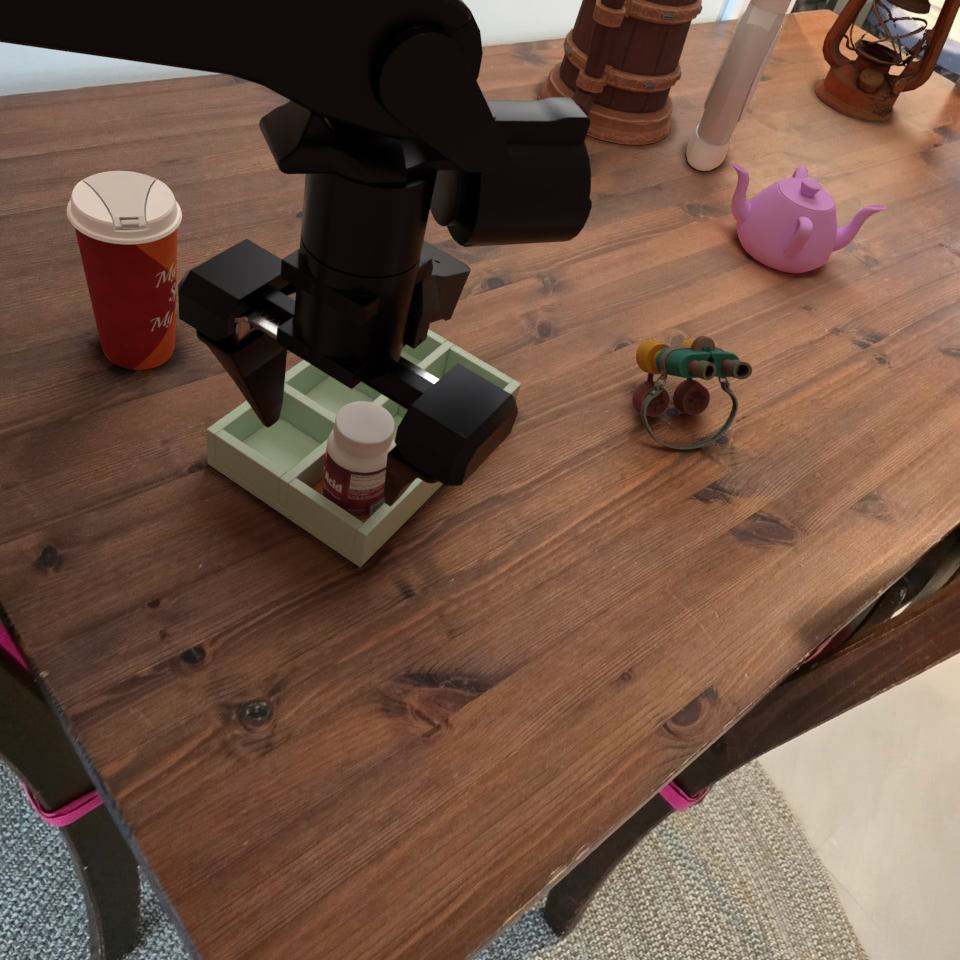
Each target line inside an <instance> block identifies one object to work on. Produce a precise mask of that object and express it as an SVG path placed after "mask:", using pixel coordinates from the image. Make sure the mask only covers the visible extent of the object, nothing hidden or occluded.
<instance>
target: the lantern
mask: <svg viewBox="0 0 960 960" xmlns="http://www.w3.org/2000/svg"><path fill="white" fill-rule="evenodd" d="M868 1H869V0H848V1H847V3H845V5H844V7H843V9H842V10H841V11H840V12H839V15H838V16H837V17H836V20H835V21H834V22H833V24H832V26H831V27H830V29H828V31H827V33H826V35H825V37H824V40H823V44H822V50H821V51H822V55H823V60H824V61H825V62H826V63H827V64H828V65H829V70H828V72H827V74H826V76H825V77H824V78H822V79H821V80H820V81H818V83H817V84H816V85H815V87H814V91H815V93H816V95H817V96H818V98H819V99H820V100H821V101H822V102H823V103H824V104H825V105H827V106H829V107H831V108H832V109H833V110H835V111H838V112H839V113H841V114H843V115H846V116H847V117H851V118H853V119H855V120H859V121H863V122H868V123H875V124H882V123H887V122H890V121H891V120H892V119H893V118H894V105H895V104H896V102H897V100H898V98H899V96H900V95H901V93H907V92H911V91H915V90H917V89H919V88H920V87H923V85H925V84H926V83H927V82H928V81H929V80H930V78H931V76H932V75H933V73H934V72H935V69H936V66H937V63H938V61H939V59H940V56H941V54H942V52H943V50H944V47H945V44H946V42H947V40H948V37H949V35H950V33H951V30H952V27H953V24H954V23H955V20H956V16H958V12H959V10H960V0H944V1H943V4H942V6H941V9H940V11H939V13H938V16H937V18H936V21H935V23H934V25H933V27H932V28H927V27H928V25H929V24H928V21H927V19H925V18H922V17H916V16H901V17H896V16H895V17H893V14H892V11H891V9H890V8H889V7H888V6H887V5H886V4H885V3H884V2H883V1H881V0H873V1H872V4H871V9H872V12H873V15H874V16H875V18H876V20H877V21H878V23H877V24H875V25H873V26H872V27H871V28H870V29H869V30H867V31H866V33H863V34H862V35H861V37H860V38H859V39H858V40H857V41H855V43H854V42H853V30H854V27H855V23H856V22H857V19H858V16H859V14H860V13H861V11H862V10H863V8H864V6H865V5H866V4H867V2H868ZM885 1H886V2H888V3H889V4H890V5H892V6H895V8H898V9H901V10H903V11H906V12H909V13H913V14H918V15H927V14H929V13H930V12H931V6H932V3H931V2H930V0H885ZM877 5H878V6H879V7H880V8H882V9H883V10H885V11H886V12H887V16H888V19H885V20H884V19H883V18H882V16H881V13H880V11H879V8H878V7H877ZM890 21H892V23H894V24H893V26H894V29H896V28H897V24H896V22H899V21H918V22H922V23H924V25H922V26H920V27H918V28H917V29H914V30H913V31H910V32H908V33H905V34H902V35H899V33H896V36H895V35H893V36H892V34H891V33H892V32H891V31H890V29H889V27H888V26H887V23H888V22H890ZM880 26H881V29H883V31H884V33H885V35H886V37H884V38H883V39H878V40H874V41H870V40H866V39H864V38H865V36H866V35H867V34H868V33H870V32H869V31H871V30H872V29H874V28H878V27H880ZM848 31H849V36H848V35H847V32H848ZM921 32H923V33H922V36H920V38H919V39H918V41H917V42H916V43H915V44H914V45H913V46H912V47H911V48H910V49H909V50H908V51H906V52H905V57H906V58H905V59H903V56H902V42H901V39H904V38H909V37H911V36H914V35H917V34H919V33H921ZM844 38H845V40H846V41H845V48H847V50H849V51H853V52H854V53H855V54H856V55H857V56H856V58H855V59H850V58H848V57H847V56H845V55H844V54H843V53H842V52H841V50H840V47H841V46H840V45H841V43H842V41H843V39H844ZM895 40H896V41H897V45H898V51H899V52H898V51H897V48H896V43H895ZM887 41H890V42H891V46H892V48H893V49H892V48H890V47H889V46H886V45H884V44H881V43H884V42H887ZM924 44H925V45H924ZM850 45H851V46H850ZM921 52H923V53H922V56H921V57H920V59H919V60H915V61H914V59H916V58H918V57H919V55H920V54H921ZM893 66H894V67H904V68H903V70H901V72H900V73H899V74H898V75H897V74H891V73H890V70H891V67H893Z"/></svg>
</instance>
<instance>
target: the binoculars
mask: <svg viewBox="0 0 960 960" xmlns="http://www.w3.org/2000/svg"><path fill="white" fill-rule="evenodd" d="M635 361H636V364H637V366H638V368H639V370H641V371H643V372H644V373H646V374H647V379H646V380H645V381H642V382H641V383H640V384H639V385H637V386H636V387H635V389H634V391H633V393H632V397H631V403H632V407H633V408H634V410H635V411H636V412H638V414H640V417H641V418H640V419H641V422H642V424H643V426H644V428H645V430H646V432H647V433H648V435H649V436H650V438H652V440H654V442H657V443H659V444H661V445H663V446H665V447H668V448H671V449H677V450H693V449H699V448H702V447H705V446H708V445H710V444H712V443H714V442H716V441H717V440H719V439H720V438H721V437H722V436H723V435H724V434H725V433H726V432H727V431H728V430H729V428H730V426H731V425H732V423H733V422H734V420H735V419H736V415H737V413H738V410H739V401H738V398H737V396H736V395H735V394H734V393H733V390H732V389H731V388H730V387H731V382H730V381H729V380H728V378H734V379H737V380H746V379H748V378H749V377H751V375H752V374H753V366H752V365H751V364H750V363H748V362H747V361H743V360H741V359H740V358H739V356H738V355H737V354H736V353H734V352H730V351H727V350H724V349H722V348H721V347H716V343H715V341H714V340H713V338H711V337H709V336H706V335H700V336H697V337H696V338H689V339H686V340H684V341H682V343H681V344H680V345H679V346H671V347H670V346H669V345H668V344H665V343H662V342H661V341H658V340H655V339H646V340H644V341H642V342H641V343H640V344H639V345H638V347H637V349H636V353H635ZM654 375H659V376H658V377H657V379H656V380H654ZM668 376H673V377H677V378H681V379H683V378H684V379H685V380H683V381H681V382H680V383H678V385H677V386H676V387H675V389H674V391H673V394H672V403H673V405H674V408H675V409H676V411H679V412H682V413H683V414H684V413H685V414H687V415H691V416H698V415H700V414H702V413H703V412H704V411H706V409H707V408H708V407H709V404H710V400H711V396H710V391H709V390H708V389H707V387H705V386H704V385H703V384H702V383H701V382H699V381H698V380H697V379H701V380H704V381H711V380H712V379H713V378H714V377H715V378H717V379H718V382H719V384H720V388H721V390H722V391H723V392H725V393H726V394H727V395H728V396H729V397H730V400H731V402H732V407H731V410H730V411H729V412H730V413H729V415H728V417H727V419H726V420H725V422H724V424H723V425H722V426H721V428H720V429H719V430H718V431H716V433H715V434H714V435H712V436H711V437H709V438H707V439H705V440H703V441H700V442H697V443H693V444H688V445H676V444H670V443H666V442H663V441H661V440H660V439H658V437H657V436H656V435H655V434H654V433H653V430H652V429H651V427H650V425H649V422H648V418H647V416H648V417H651V418H656V417H659V416H661V415H663V414H664V413H665V412H666V411H667V409H668V408H669V405H670V399H671V398H670V394H669V392H668V391H667V389H666V388H664V387H665V386H666V384H667V380H668ZM721 379H722V380H721ZM660 380H661V381H663V383H659V381H660Z"/></svg>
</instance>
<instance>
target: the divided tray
mask: <svg viewBox="0 0 960 960" xmlns="http://www.w3.org/2000/svg"><path fill="white" fill-rule="evenodd" d="M401 356H402V357H403V358H405V359H407V360H408V361H410V362H412V363H413V364H415V365H417V366H418V367H420V368H422V369H423V370H425V371H427V372H428V373H430V374H432V375H433V376H435V377H437V378H439V379H440V378H441V377H443V376H444V375H445V374H446V373H447V372H448V371H449V370H450V369H452V368H453V367H454V366H455V365H456V364H457V363H459V364H461V365H462V366H464V367H466V368H468V369H469V370H471V371H473V372H474V373H476V374H478V375H479V376H481V377H483V378H485V379H486V380H488V381H490V382H491V383H493V384H495V385H496V386H498V387H500V388H502V389H503V390H505V391H507V392H508V393H510V394H512V395H513V396H514V397H515V398H516V400H517V398H518V395H519V393H520V389H521V385H522V383H521V382H520V381H517V380H516V379H514V378H512V377H511V376H509V375H507V374H505V373H504V372H503V371H501V370H499V369H497V368H495V367H494V366H492V365H490V364H488V363H487V362H485V361H483V360H481V358H479V357H477V356H475V355H474V354H472V353H470V352H468V351H466V350H465V349H463V348H462V347H460V346H459V345H457V344H454V343H452V341H450V340H447V339H446V338H444V337H443V336H442V335H439V334H438V333H436V332H435V331H433V330H431V329H430V328H429V329H428V334H427V338H426V340H425V341H423V342H422V343H421V344H420V345H418V346H417V347H416V348H415V349H413V348H411V347H409V346H408V345H406V346H405V347H403V348H402V351H401ZM358 401H366V402H371V403H375V404H378V405H380V406H382V407H383V408H385V409H386V410H387V411H388V412H389V413H390V414H391V415H392V417H393V419H394V423H395V429H394V436H393V439H394V441H395V437H396V433H397V428H398V426H399V424H400V422H401V421H402V419H403V417H404V416H405V414H406V412H407V411H408V410H407V409H405V408H403V407H402V406H400V405H399V404H397V403H395V402H394V401H392V400H390V399H389V398H387V397H385V396H384V395H382V394H381V393H379V392H377V391H376V390H374V389H372V388H371V387H369V386H367V385H366V384H364V383H363V382H360V383H359V384H358V385H356V386H355V387H354V388H353V389H350V388H349V387H347V386H345V385H344V384H342V383H340V382H339V381H337V380H336V379H334V378H332V377H331V376H329V375H327V374H326V373H324V372H323V371H321V370H319V369H318V368H316V367H314V366H313V365H311V364H309V363H308V362H306V361H305V360H303V359H301V360H300V361H299V362H298V363H297V364H295V365H294V366H292V367H290V369H288V370H287V371H286V372H285V384H284V397H283V404H282V409H281V413H280V418H279V420H278V421H277V422H276V423H274V424H273V425H272V426H271V427H269V428H267V427H266V426H264V425H263V424H262V423H261V421H260V420H259V418H258V417H257V415H256V414H255V412H254V411H253V409H252V408H251V406H250V405H249V403H248V402H247V400H246V399H245V401H244V402H242V403H240V404H239V405H238V406H236V407H235V408H233V409H232V410H231V411H230V412H228V413H227V414H226V415H224V416H223V417H221V418H220V419H218V420H216V422H214V423H213V424H211V425H210V426H208V427H207V428H206V452H207V454H206V456H207V457H206V458H207V459H206V460H207V464H208V465H209V466H210V467H211V468H213V469H215V470H216V471H217V472H219V473H221V474H222V475H224V476H225V477H226V478H228V479H229V480H230V481H232V482H234V483H235V484H237V485H238V486H240V487H241V488H242V489H244V490H246V492H248V493H250V494H251V495H252V496H254V497H255V498H257V499H259V500H260V501H261V502H263V503H264V504H266V505H267V506H269V507H271V508H272V509H273V510H275V511H276V512H277V513H280V514H281V515H282V516H284V518H287V519H288V520H290V522H292V523H294V524H295V525H296V526H298V527H300V528H301V529H302V530H304V531H306V532H307V533H308V534H310V535H312V536H313V537H314V538H315V539H317V540H318V541H321V542H322V543H323V544H325V545H326V546H328V547H330V548H331V549H332V550H334V551H335V552H336V553H338V554H339V555H341V556H342V557H344V558H345V559H347V560H348V561H349V562H352V564H354V565H355V566H357V567H359V568H362V567H363V566H364V565H365V564H366V562H367V561H369V560H370V559H371V557H372V556H374V555H375V553H376V552H377V551H378V550H379V549H380V548H381V547H382V546H383V545H385V543H386V542H387V541H388V540H390V539H391V537H392V536H393V535H394V534H396V532H398V530H399V529H400V528H401V527H403V525H404V524H405V523H407V521H408V520H409V519H410V518H411V517H412V516H413V515H415V513H416V512H417V511H418V510H419V509H421V507H422V506H423V505H424V504H425V503H426V502H427V501H428V500H429V499H430V498H431V497H432V496H433V495H434V494H435V493H436V492H437V491H438V490H439V489H440V488H441V487H442V486H443V485H444V484H442V483H441V482H437V483H432V484H431V483H426V482H424V481H422V480H421V479H419V478H417V479H415V480H414V481H413V483H412V484H411V485H410V486H409V487H408V489H407V490H406V491H405V492H404V493H403V495H402V496H401V497H400V498H399V499H398V500H397V501H396V502H395V503H394V504H393V505H392V506H389V505H387V504H386V503H384V504H383V505H382V506H381V507H380V508H379V509H378V510H377V511H376V512H375V513H374V514H373V515H372V516H371V517H370V518H369V519H368V520H367V521H366V522H365V523H363V522H362V521H360V520H359V519H357V518H356V517H354V516H353V515H351V514H350V513H348V512H347V511H345V510H344V509H342V508H341V507H339V506H338V505H336V504H335V503H333V502H332V501H330V500H329V499H327V498H326V497H324V496H323V495H321V489H322V480H323V471H324V463H325V454H326V446H327V440H328V437H329V434H330V433H331V431H332V430H333V429H334V424H335V418H336V415H337V413H338V411H339V410H340V409H341V408H342V407H343V406H345V405H347V404H349V403H352V402H358ZM395 446H396V443H395Z"/></svg>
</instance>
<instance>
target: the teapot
mask: <svg viewBox="0 0 960 960" xmlns="http://www.w3.org/2000/svg"><path fill="white" fill-rule="evenodd" d="M731 167H733V169H734V171H735V173H736V174H737V183H736V187H735V189H734V191H733V194H732V198H731V204H730V209H731V214H732V216H733V218H734V220H735V221H736V224H735V228H736V234H737V237H738V239H739V242H740V245H741V246H742V249H743V250H744V251H745V252H746V253H747V254H748V255H749V256H750V257H751V258H753V259H754V260H755V261H757V262H759V263H760V264H762V265H764V266H765V267H768V268H770V269H774V270H775V271H779V272H783V273H788V274H804V273H808V272H810V271H814V270H816V269H818V268H820V267H822V266H824V265H825V264H826V263H827V262H828V261H829V259H830V257H831V255H832V253H834V252H838V251H841V250H842V249H844V248H846V247H847V246H849V245H850V244H851V242H853V240H855V237H856V236H857V235H858V233H859V231H860V230H861V228H862V226H863V225H864V224H865V222H866V221H867V220H868V219H869V218H870V217H871V216H873V215H874V214H877V213H880V212H882V211H885V210H887V209H888V207H887V206H886V205H885V206H884V205H882V204H881V205H879V204H870V205H866V206H864V207H862V208H861V209H860V210H859V211H857V213H856V214H855V215H854V216H853V218H852V219H851V220H850V221H849V222H848V223H847V224H845V225H842V226H840V227H838V218H837V208H836V207H837V206H836V202H835V200H834V198H833V196H832V195H831V194H830V193H829V192H828V190H826V189H824V188H823V185H822V183H820V182H819V181H818V180H816V179H815V178H812V177H809V171H808V168H807V167H806V166H802V165H800V166H797V167H796V168H795V170H794V172H793V173H792V175H791V177H784V178H782V179H780V180H777V181H775V182H773V183H772V184H770V185H768V186H767V187H765V188H764V189H762V190H761V191H760V192H759V193H757V194H756V195H755V196H753V197H752V198H751V199H750V200H748V198H747V192H748V188H749V185H750V184H749V183H750V175H749V172H748V171H747V169H745V168H744V167H743V166H741V165H739V164H738V163H735V162H731Z"/></svg>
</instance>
